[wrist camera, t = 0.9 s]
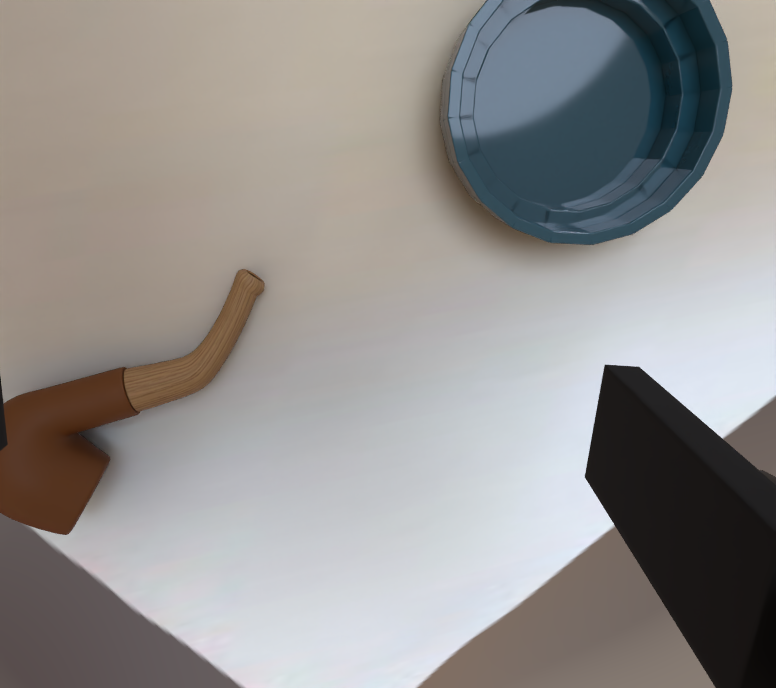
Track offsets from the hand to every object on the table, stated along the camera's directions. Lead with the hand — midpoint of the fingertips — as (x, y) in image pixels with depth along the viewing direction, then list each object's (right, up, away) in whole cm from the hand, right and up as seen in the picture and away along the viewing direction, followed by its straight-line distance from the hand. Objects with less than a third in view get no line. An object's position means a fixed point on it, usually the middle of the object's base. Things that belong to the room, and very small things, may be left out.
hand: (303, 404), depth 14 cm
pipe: (-14, 0, +25) cm, 28 cm away
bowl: (+11, +14, +21) cm, 27 cm away
